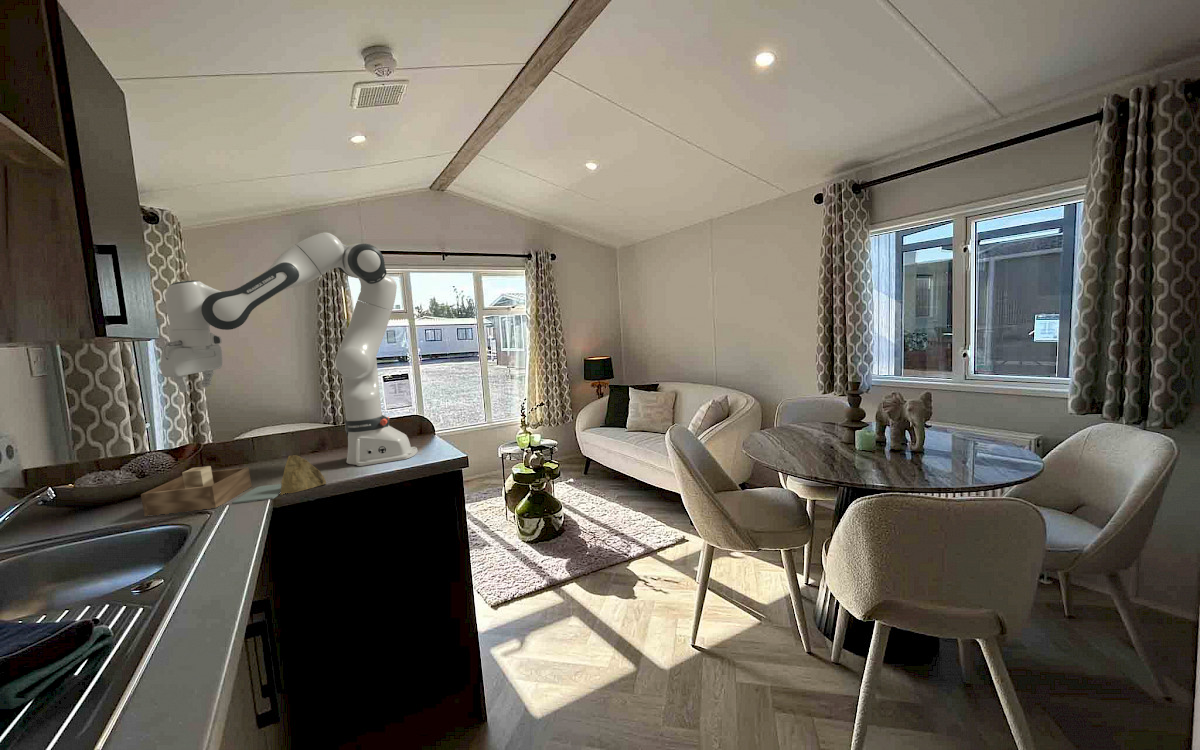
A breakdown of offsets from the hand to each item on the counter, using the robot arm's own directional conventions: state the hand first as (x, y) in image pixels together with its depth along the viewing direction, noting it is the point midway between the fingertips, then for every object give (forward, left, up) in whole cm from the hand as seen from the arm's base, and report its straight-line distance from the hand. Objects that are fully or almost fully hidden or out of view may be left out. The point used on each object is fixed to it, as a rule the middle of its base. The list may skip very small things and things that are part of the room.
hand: (196, 388), depth 141 cm
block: (-1, +7, -28) cm, 29 cm away
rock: (-27, +6, -31) cm, 41 cm away
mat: (-17, +7, -30) cm, 35 cm away
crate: (-1, +7, -30) cm, 31 cm away
